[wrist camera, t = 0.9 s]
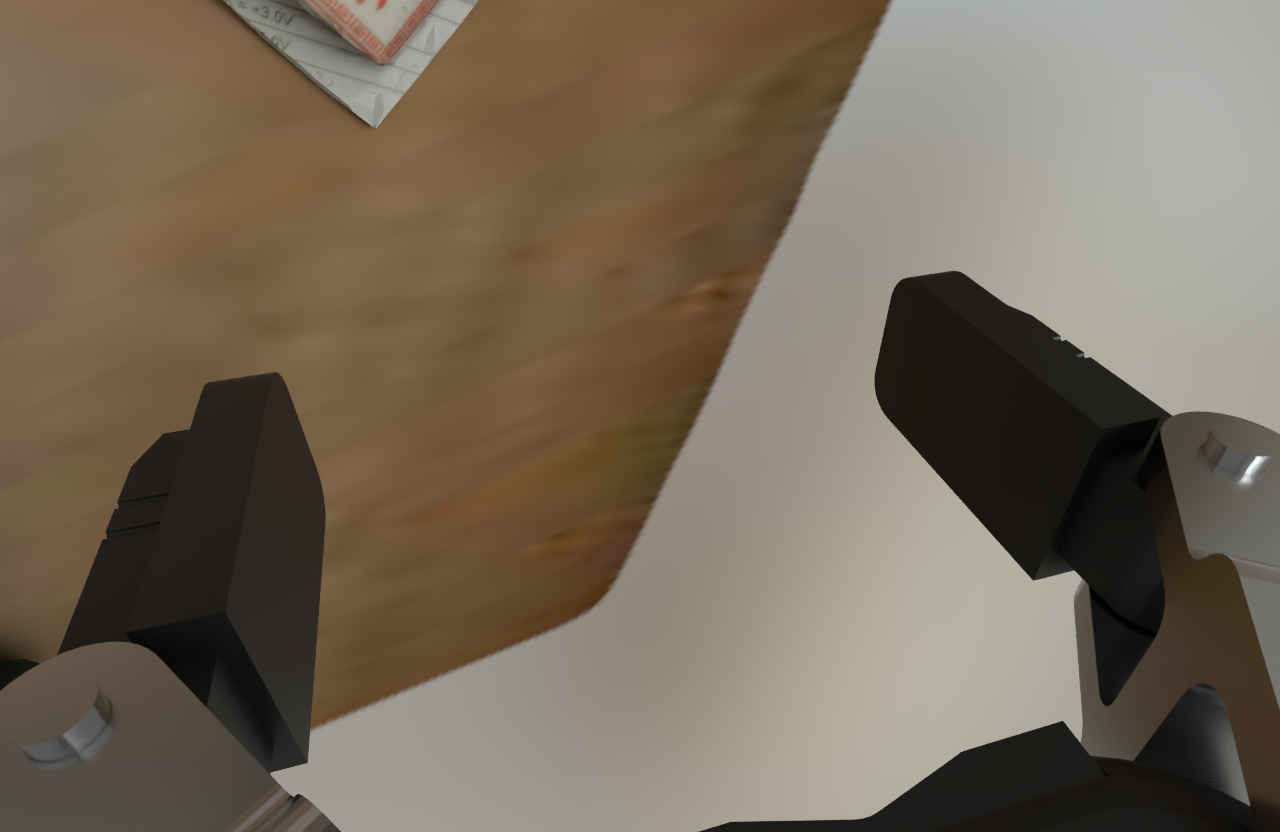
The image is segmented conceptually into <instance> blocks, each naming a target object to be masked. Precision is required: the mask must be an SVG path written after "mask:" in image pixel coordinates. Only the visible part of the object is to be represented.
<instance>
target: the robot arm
mask: <svg viewBox="0 0 1280 832" xmlns="http://www.w3.org/2000/svg"><path fill="white" fill-rule="evenodd" d="M875 391H876V396H877V400H878V402H879V405H880V407H881V409H882V411H883V412H884V414H885V415H886V417H887V418H888V419H889V420H890V421H891V422H892V423H893V424H894V426H895V427H896V428H897V429H898V430H899V431H900V432H901V433H902V435H903V436H904V437H905V438H906V439H907V440H908V441H909V442H910V444H911V445H912V446H913V447H914V448H915V449H916V450H917V451H918V452H919V453H920V455H921V456H922V457H923V458H924V459H925V460H926V461H927V462H928V464H929V465H930V466H931V467H932V468H933V469H934V470H935V471H936V473H937V474H938V475H939V476H940V477H941V478H942V479H943V480H944V481H945V483H946V484H947V485H948V486H949V487H950V488H951V489H952V490H953V492H954V493H955V494H956V495H957V496H958V497H959V498H960V499H961V500H962V502H963V503H964V504H965V505H966V506H967V507H968V508H969V509H970V510H971V512H972V513H973V514H974V515H975V516H976V517H977V518H978V519H979V521H980V522H981V523H982V524H983V525H984V526H985V527H986V528H987V529H988V530H989V532H990V533H991V534H992V535H993V536H994V537H995V538H996V540H997V541H998V542H999V543H1000V544H1001V545H1002V546H1003V547H1004V548H1005V550H1006V551H1007V552H1008V553H1009V554H1010V555H1011V556H1012V557H1013V558H1014V560H1015V561H1016V562H1017V563H1018V564H1019V565H1020V566H1021V567H1022V569H1023V570H1024V571H1025V572H1026V573H1027V574H1028V575H1029V576H1030V577H1031V579H1032V580H1033V581H1034V580H1038V579H1042V578H1046V577H1050V576H1053V575H1057V574H1061V573H1065V572H1069V571H1073V570H1075V571H1076V572H1077V573H1078V574H1079V575H1080V576H1081V578H1082V581H1081V583H1080V585H1079V586H1078V589H1077V590H1076V593H1075V596H1074V612H1075V625H1076V638H1077V651H1078V664H1079V678H1080V691H1081V704H1082V718H1083V729H1082V738H1081V743H1080V742H1079V741H1078V739H1077V738H1076V737H1075V736H1074V734H1073V733H1072V732H1071V731H1070V730H1069V728H1068V727H1067V726H1066V724H1065V723H1064V722H1063V721H1061V722H1058V723H1055V724H1051V725H1048V726H1045V727H1042V728H1038V729H1035V730H1032V731H1028V732H1025V733H1022V734H1019V735H1015V736H1012V737H1009V738H1005V739H1002V740H999V741H995V742H992V743H989V744H986V745H982V746H979V747H976V748H972V749H969V750H966V751H963V752H961V753H960V754H958V755H957V756H955V757H954V758H953V759H951V760H950V761H948V762H947V763H946V764H944V765H943V766H942V767H940V768H939V769H937V770H936V771H935V772H933V773H932V774H930V775H929V776H928V777H926V778H925V779H923V780H922V781H921V782H919V783H918V784H916V785H915V786H914V787H912V788H911V789H910V790H908V791H907V792H905V793H904V794H903V795H901V796H900V797H899V798H897V799H896V800H894V801H893V802H891V803H890V804H889V805H887V806H886V807H885V808H883V809H882V810H880V811H879V812H877V813H876V814H874V815H872V816H870V817H867V818H863V819H857V820H813V821H760V822H759V821H757V822H756V821H755V822H729V823H726V824H723V825H720V826H716V827H713V828H709V829H706V830H703V831H700V832H1280V434H1278V433H1276V432H1275V431H1272V430H1270V429H1268V428H1266V427H1264V426H1261V425H1259V424H1256V423H1254V422H1251V421H1248V420H1245V419H1242V418H1238V417H1235V416H1230V415H1226V414H1220V413H1213V412H1186V413H1180V414H1177V415H1175V416H1172V415H1170V414H1169V413H1168V412H1166V411H1165V410H1163V409H1162V408H1161V407H1159V406H1158V405H1156V404H1155V403H1154V402H1152V401H1151V400H1149V399H1148V398H1147V397H1145V396H1144V395H1143V394H1141V393H1140V392H1138V391H1137V390H1135V389H1134V388H1132V387H1131V386H1130V385H1129V384H1127V383H1126V382H1124V381H1123V380H1122V379H1120V378H1118V377H1117V376H1116V375H1115V374H1113V373H1111V372H1110V371H1109V370H1108V369H1106V368H1105V367H1103V366H1102V365H1100V364H1099V363H1098V362H1096V361H1095V360H1094V359H1092V358H1091V357H1089V358H1085V357H1084V352H1082V351H1081V350H1080V349H1078V348H1077V347H1075V346H1074V345H1073V344H1071V343H1070V342H1068V341H1067V340H1064V341H1061V339H1060V335H1058V334H1057V333H1056V332H1054V331H1053V330H1051V329H1050V328H1049V327H1047V326H1046V325H1045V324H1043V323H1042V322H1040V321H1039V320H1037V319H1036V318H1035V317H1033V316H1032V315H1030V314H1027V313H1025V312H1022V311H1020V310H1018V309H1015V308H1013V307H1010V306H1008V305H1006V304H1005V303H1003V302H1002V301H1001V300H999V299H998V298H996V297H995V296H994V295H992V294H991V293H989V292H988V291H987V290H985V289H984V288H983V287H981V286H980V285H978V284H977V283H976V282H974V281H973V280H972V279H970V278H969V277H967V276H966V275H965V274H963V273H961V272H958V271H949V272H942V273H936V274H929V275H922V276H916V277H909V278H905V279H902V280H901V281H900V282H899V283H898V284H897V285H896V287H895V288H894V291H893V293H892V296H891V301H890V305H889V310H888V314H887V319H886V324H885V328H884V333H883V338H882V343H881V347H880V353H879V357H878V361H877V366H876V372H875ZM118 505H119V509H115V510H114V512H113V515H112V517H111V520H110V522H109V525H108V527H107V530H106V534H107V539H104V540H102V543H101V545H100V548H99V550H98V553H97V555H96V558H95V560H94V563H93V565H92V568H91V570H90V573H89V576H88V578H87V581H86V583H85V586H84V588H83V591H82V593H81V596H80V598H79V601H78V604H77V606H76V609H75V611H74V614H73V616H72V619H71V621H70V624H69V626H68V629H67V631H66V634H65V637H64V639H63V642H62V644H61V647H60V649H59V652H58V654H57V656H55V657H53V658H51V659H49V660H47V661H44V662H42V663H41V664H39V665H37V666H35V667H34V668H32V669H30V670H28V671H27V672H25V673H24V674H22V675H21V676H19V677H18V678H17V679H15V680H14V681H12V682H11V683H9V684H8V685H7V686H6V687H5V688H3V689H2V690H1V691H0V832H341V831H340V830H339V829H338V828H337V827H336V826H335V825H334V824H333V823H332V822H331V821H330V820H329V819H328V818H327V817H326V816H325V815H324V814H323V813H322V812H321V811H320V810H319V809H318V808H317V807H316V806H315V805H313V804H312V803H311V802H310V801H309V800H308V799H306V798H305V797H303V796H302V795H300V794H297V795H296V796H295V797H292V796H291V795H290V794H289V793H288V792H286V791H285V790H284V789H283V788H282V787H281V786H280V785H279V784H278V783H277V781H276V780H275V779H274V778H273V777H272V776H271V775H270V773H271V772H274V771H278V770H282V769H286V768H289V767H293V766H297V765H301V764H305V763H307V762H308V749H309V737H310V723H311V710H312V696H313V683H314V669H315V656H316V643H317V629H318V616H319V602H320V589H321V575H322V562H323V548H324V535H325V504H324V496H323V491H322V486H321V481H320V478H319V474H318V471H317V468H316V465H315V463H314V460H313V457H312V454H311V452H310V449H309V446H308V443H307V441H306V438H305V435H304V432H303V430H302V427H301V424H300V421H299V419H298V416H297V413H296V410H295V408H294V405H293V402H292V399H291V397H290V394H289V391H288V389H287V386H286V384H285V382H284V380H283V378H282V377H281V376H280V374H278V373H277V372H274V373H267V374H260V375H254V376H247V377H241V378H234V379H227V380H221V381H214V382H208V383H206V384H205V386H204V388H203V390H202V393H201V396H200V399H199V402H198V405H197V409H196V412H195V415H194V418H193V421H192V424H191V427H190V429H189V430H183V431H177V432H171V433H165V434H163V435H162V436H161V437H160V438H159V439H158V440H157V441H156V442H155V443H154V444H153V445H152V446H151V447H150V448H149V449H148V450H147V451H146V452H145V453H144V454H143V455H142V456H141V457H140V458H139V459H138V461H137V462H136V463H135V464H134V465H133V466H132V467H131V469H130V471H129V474H128V476H127V479H126V482H125V484H124V487H123V489H122V492H121V494H120V497H119V499H118Z"/></svg>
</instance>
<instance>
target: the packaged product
mask: <svg viewBox="0 0 1280 832" xmlns="http://www.w3.org/2000/svg"><path fill="white" fill-rule="evenodd" d="M223 1H224V2H225V3H226V4H227V5H228V6H230V7H231V8H232V9H233V10H234V11H235V12H236V13H237V14H238V15H239V16H240V17H241V18H242V19H243V20H244V21H245V22H247V23H248V24H249V25H250V26H251V27H252V28H253V29H254V30H255V31H256V32H257V33H258V34H259V35H260V36H261V37H263V38H264V39H265V40H266V41H267V42H268V43H269V44H270V45H272V46H273V47H274V48H275V49H276V50H277V51H279V52H280V53H281V54H282V55H283V56H284V57H286V58H287V59H288V60H289V61H290V62H291V63H293V64H294V65H295V66H296V67H297V68H298V69H299V70H301V71H302V72H303V73H304V74H305V75H306V76H308V77H309V78H310V79H311V80H312V81H313V82H315V83H316V84H317V85H318V86H319V87H320V88H322V89H323V90H324V91H325V92H327V93H328V94H329V95H331V96H332V97H333V98H335V99H336V100H338V101H339V102H340V103H342V104H343V105H344V106H346V107H347V108H348V109H350V110H351V111H352V112H354V113H355V114H356V115H358V116H359V117H360V118H362V119H363V120H364V121H366V122H367V123H368V124H369V125H371V126H372V127H373V128H375V129H376V128H377V127H378V125H379V124H380V123H381V122H382V120H383V119H384V118H385V117H386V115H387V114H388V113H389V112H390V111H391V109H392V108H393V107H394V106H395V104H396V103H397V102H398V101H399V100H400V98H401V97H402V96H403V95H404V94H405V93H406V91H407V90H408V89H409V88H410V86H411V85H412V84H413V83H414V82H415V80H416V79H417V78H418V77H419V75H420V74H421V73H422V72H423V70H424V69H425V68H426V67H427V65H428V64H429V63H430V62H431V60H432V59H433V58H434V57H435V55H436V54H437V53H438V52H439V50H440V49H441V48H442V47H443V45H444V44H445V43H446V42H447V40H448V39H449V38H450V37H451V35H452V34H453V33H454V32H455V30H456V29H457V28H458V26H459V25H460V24H461V23H462V21H463V20H464V19H465V17H466V16H467V15H468V14H469V12H470V11H471V10H472V9H473V7H474V6H475V5H476V3H477V2H478V1H479V0H223Z"/></svg>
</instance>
